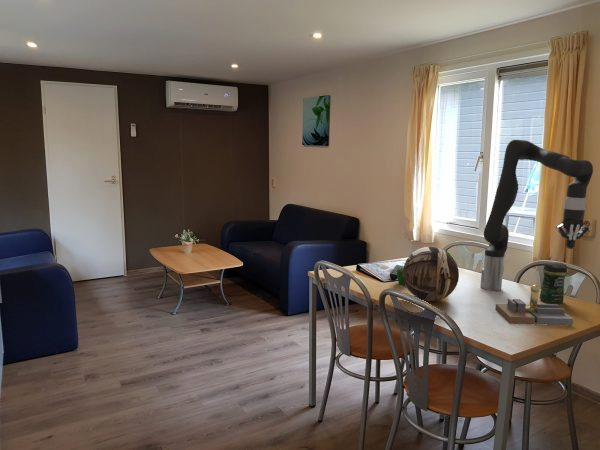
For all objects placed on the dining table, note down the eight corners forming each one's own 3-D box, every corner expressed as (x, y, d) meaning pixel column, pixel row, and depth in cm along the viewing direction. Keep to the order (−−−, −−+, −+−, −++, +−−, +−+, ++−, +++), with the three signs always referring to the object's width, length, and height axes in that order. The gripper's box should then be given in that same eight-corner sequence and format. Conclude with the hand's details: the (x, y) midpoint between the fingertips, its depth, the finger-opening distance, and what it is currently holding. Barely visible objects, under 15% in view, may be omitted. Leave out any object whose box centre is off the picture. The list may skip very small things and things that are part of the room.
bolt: (535, 309, 198) (538, 284, 196) (539, 312, 195) (542, 286, 193) (514, 308, 199) (516, 283, 197) (517, 311, 195) (520, 285, 193)
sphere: (460, 311, 204) (464, 255, 199) (401, 306, 209) (404, 251, 204) (453, 293, 228) (457, 243, 224) (401, 289, 233) (403, 240, 228)
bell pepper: (393, 282, 244) (394, 264, 243) (406, 281, 248) (407, 262, 246) (403, 287, 237) (404, 268, 235) (416, 285, 240) (417, 266, 239)
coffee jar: (547, 304, 214) (551, 265, 211) (536, 299, 222) (540, 261, 219) (566, 303, 216) (571, 265, 213) (555, 298, 224) (559, 260, 220)
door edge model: (553, 312, 205) (554, 296, 203) (572, 325, 189) (574, 309, 188) (495, 310, 206) (496, 294, 205) (509, 323, 190) (510, 307, 189)
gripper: (585, 207, 199) (580, 246, 202) (554, 206, 200) (549, 246, 203) (595, 209, 192) (590, 250, 195) (562, 208, 192) (558, 249, 195)
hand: (569, 248), depth 199 cm, fingers closed
